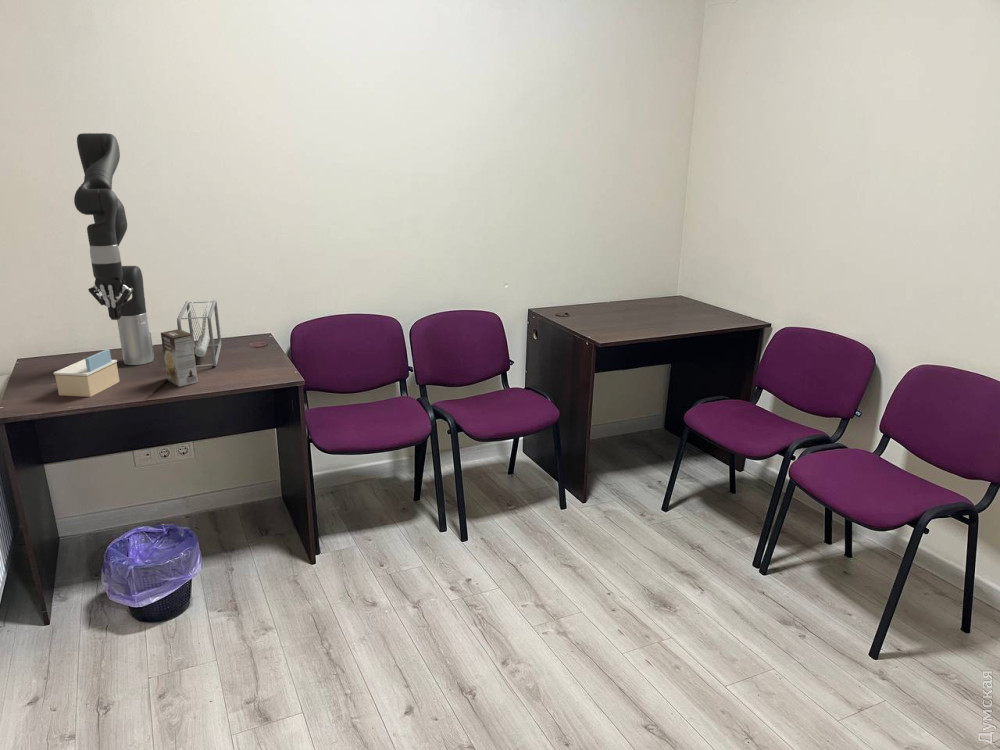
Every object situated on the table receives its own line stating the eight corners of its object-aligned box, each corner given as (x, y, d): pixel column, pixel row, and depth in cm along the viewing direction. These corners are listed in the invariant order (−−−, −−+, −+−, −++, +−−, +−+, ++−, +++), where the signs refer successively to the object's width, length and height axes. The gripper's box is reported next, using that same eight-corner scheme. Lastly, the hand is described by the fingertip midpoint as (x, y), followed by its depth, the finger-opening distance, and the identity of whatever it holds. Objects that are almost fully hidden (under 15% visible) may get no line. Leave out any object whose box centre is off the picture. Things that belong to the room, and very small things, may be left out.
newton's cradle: (191, 346, 263) (185, 300, 257) (221, 344, 266) (216, 298, 260) (183, 370, 235) (176, 318, 230) (216, 368, 238) (210, 317, 233)
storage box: (90, 382, 222) (86, 361, 220) (120, 384, 221) (116, 362, 219) (59, 397, 209) (55, 375, 207) (91, 399, 208) (87, 376, 206)
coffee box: (166, 380, 225) (159, 332, 220) (186, 376, 230) (179, 328, 225) (179, 387, 219) (172, 337, 214) (199, 382, 224) (193, 333, 219)
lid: (86, 360, 220) (83, 346, 219) (117, 361, 219) (115, 347, 218) (53, 374, 207) (50, 359, 205) (87, 376, 206) (84, 361, 204)
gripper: (135, 259, 204) (144, 317, 210) (93, 258, 206) (102, 315, 211) (119, 263, 197) (129, 323, 203) (75, 262, 199) (86, 321, 204)
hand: (115, 319), depth 207 cm, fingers closed
